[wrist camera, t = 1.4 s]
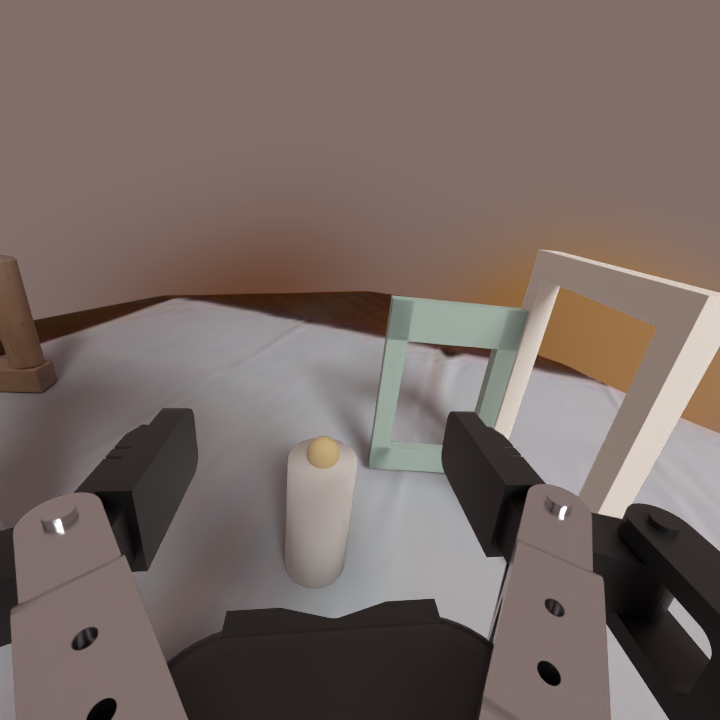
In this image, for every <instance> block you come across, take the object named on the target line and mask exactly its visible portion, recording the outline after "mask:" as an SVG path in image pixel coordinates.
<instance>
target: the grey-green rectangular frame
mask: <svg viewBox="0 0 720 720" xmlns="http://www.w3.org/2000/svg"><path fill="white" fill-rule="evenodd" d="M528 315H529V312H528V311H527V310H525V309H524V308H514V307H503V306H493V305H483V304H473V303H463V302H452V301H442V300H432V299H422V298H412V297H402V296H392V298H391V305H390V312H389V319H388V326H387V332H386V339H385V346H384V353H383V360H382V367H381V374H380V381H379V388H378V395H377V402H376V409H375V416H374V422H373V429H372V436H371V443H370V450H369V457H368V468H379V469H395V470H410V471H426V472H441V473H444V470H443V467H442V461H441V452H442V446H443V445H436V444H422V443H407V442H393V441H391V436H392V430H393V424H394V418H395V412H396V406H397V401H398V395H399V389H400V383H401V377H402V372H403V366H404V360H405V354H406V348H407V343H408V341H412V342H423V343H434V344H445V345H456V346H468V347H479V348H490V349H492V351H491V354H490V358H489V362H488V365H487V369H486V372H485V376H484V380H483V383H482V387H481V390H480V394H479V398H478V401H477V405H476V408H475V413H476V414H477V415H478V416H479V417H480V419H481V420H482V421H483V422H484V424H485V425H486V426H487V427H492V428H494V424H495V421H496V418H497V415H498V411H499V408H500V405H501V402H502V399H503V395H504V392H505V389H506V386H507V382H508V379H509V376H510V373H511V370H512V366H513V363H514V360H515V357H516V353H517V350H518V347H519V344H520V340H521V337H522V334H523V331H524V328H525V324H526V321H527V318H528Z"/></svg>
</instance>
